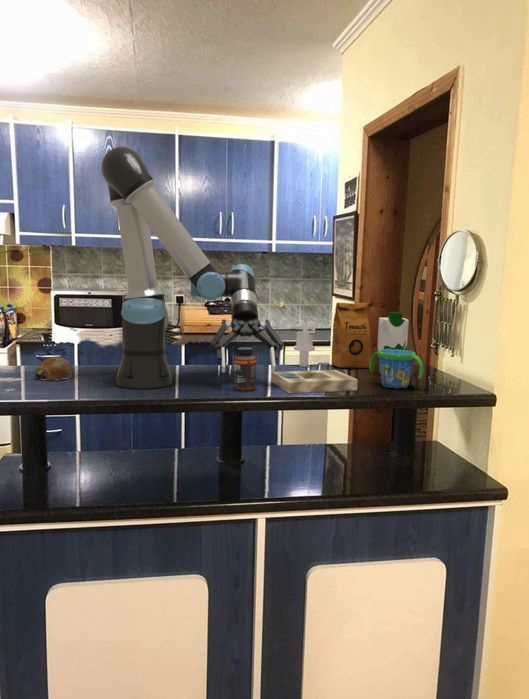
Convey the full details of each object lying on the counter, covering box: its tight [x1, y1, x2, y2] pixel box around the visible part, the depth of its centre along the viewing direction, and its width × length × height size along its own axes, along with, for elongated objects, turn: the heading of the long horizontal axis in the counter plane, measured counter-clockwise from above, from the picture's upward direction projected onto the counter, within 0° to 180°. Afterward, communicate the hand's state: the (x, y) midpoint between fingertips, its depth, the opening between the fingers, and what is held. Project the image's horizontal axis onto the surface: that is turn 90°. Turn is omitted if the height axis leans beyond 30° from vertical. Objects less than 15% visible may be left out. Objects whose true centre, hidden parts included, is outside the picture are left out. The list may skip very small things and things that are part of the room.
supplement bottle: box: [233, 346, 257, 392], centre depth 156 cm, size 6×6×11 cm
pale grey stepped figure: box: [293, 321, 317, 368], centre depth 194 cm, size 7×7×15 cm
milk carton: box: [376, 311, 410, 375], centre depth 181 cm, size 9×9×20 cm
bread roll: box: [34, 356, 74, 380], centre depth 165 cm, size 10×10×8 cm
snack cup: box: [368, 349, 424, 390], centre depth 163 cm, size 16×10×10 cm
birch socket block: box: [271, 369, 358, 394], centre depth 162 cm, size 20×15×3 cm
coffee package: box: [331, 302, 372, 369], centre depth 193 cm, size 10×12×22 cm
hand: (248, 369), depth 155 cm, fingers open, 13 cm apart
